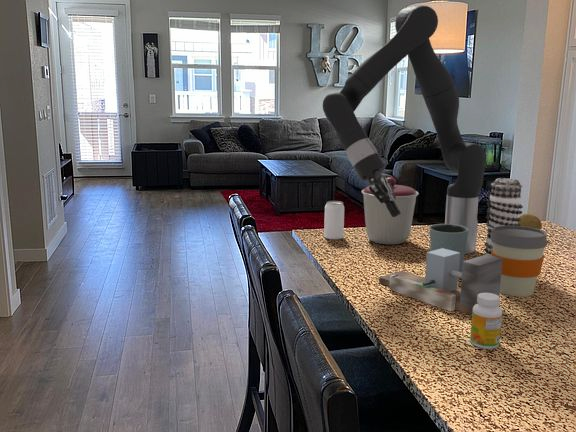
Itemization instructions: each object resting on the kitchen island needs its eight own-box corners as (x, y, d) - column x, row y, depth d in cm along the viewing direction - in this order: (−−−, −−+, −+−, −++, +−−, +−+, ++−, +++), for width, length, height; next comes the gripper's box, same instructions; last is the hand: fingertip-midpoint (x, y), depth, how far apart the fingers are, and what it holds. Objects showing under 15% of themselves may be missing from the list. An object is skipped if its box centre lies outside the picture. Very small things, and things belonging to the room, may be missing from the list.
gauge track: (374, 284, 143) (375, 240, 140) (402, 276, 149) (404, 233, 147) (470, 318, 121) (474, 267, 119) (498, 307, 128) (502, 258, 125)
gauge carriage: (414, 291, 132) (416, 254, 130) (440, 283, 138) (442, 248, 136) (443, 301, 126) (446, 263, 124) (468, 292, 132) (471, 255, 130)
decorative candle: (475, 268, 156) (483, 179, 151) (489, 261, 162) (497, 175, 157) (508, 276, 150) (517, 183, 144) (521, 268, 156) (530, 179, 151)
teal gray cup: (465, 267, 157) (469, 225, 155) (464, 277, 148) (468, 233, 146) (428, 263, 161) (431, 222, 158) (425, 273, 151) (427, 230, 149)
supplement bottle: (465, 338, 111) (469, 291, 109) (491, 337, 112) (495, 290, 110) (476, 350, 106) (480, 301, 104) (504, 349, 107) (508, 300, 105)
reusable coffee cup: (536, 302, 131) (543, 240, 127) (481, 292, 137) (486, 232, 134) (545, 287, 141) (551, 229, 138) (493, 278, 148) (498, 223, 144)
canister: (375, 231, 197) (377, 172, 193) (424, 239, 187) (428, 176, 182) (349, 242, 183) (351, 178, 178) (401, 251, 172) (404, 183, 168)
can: (342, 240, 185) (343, 204, 182) (322, 239, 186) (323, 203, 184) (344, 235, 191) (345, 201, 189) (325, 234, 192) (326, 200, 190)
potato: (512, 234, 195) (514, 211, 193) (535, 235, 194) (537, 212, 192) (517, 239, 188) (519, 215, 187) (541, 240, 187) (544, 216, 186)
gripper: (368, 150, 143) (402, 209, 140) (384, 153, 155) (415, 207, 152) (344, 165, 146) (377, 224, 143) (362, 167, 158) (392, 221, 155)
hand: (396, 215), depth 147 cm, fingers closed
